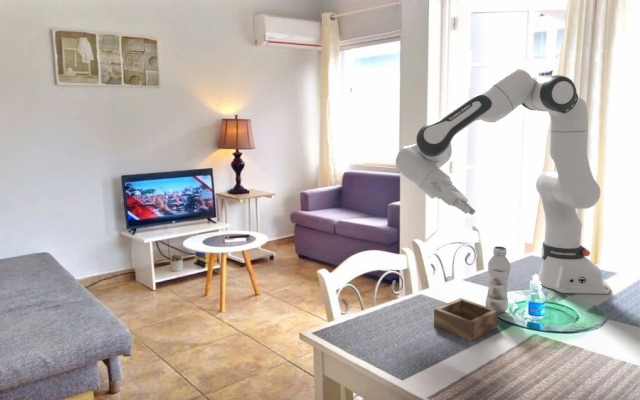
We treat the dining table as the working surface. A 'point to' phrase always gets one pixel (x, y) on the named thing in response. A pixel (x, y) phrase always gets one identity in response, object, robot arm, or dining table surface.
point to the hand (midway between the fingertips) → (471, 212)
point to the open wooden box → (452, 322)
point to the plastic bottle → (498, 280)
